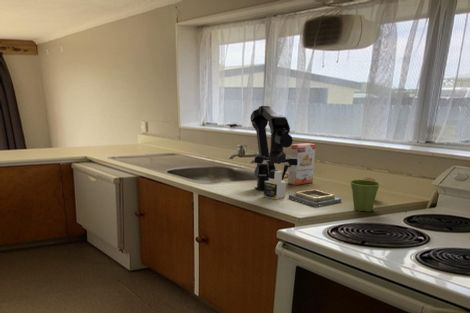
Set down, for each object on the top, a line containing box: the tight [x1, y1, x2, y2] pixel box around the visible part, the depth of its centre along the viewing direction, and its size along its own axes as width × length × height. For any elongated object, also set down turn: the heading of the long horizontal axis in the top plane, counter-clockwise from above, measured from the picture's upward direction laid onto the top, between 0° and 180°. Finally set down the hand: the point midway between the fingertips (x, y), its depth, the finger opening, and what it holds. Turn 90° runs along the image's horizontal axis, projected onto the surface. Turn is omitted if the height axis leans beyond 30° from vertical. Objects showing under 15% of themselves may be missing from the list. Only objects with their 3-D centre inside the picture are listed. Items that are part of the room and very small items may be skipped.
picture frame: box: [288, 188, 342, 207], centre depth 171 cm, size 16×16×3 cm
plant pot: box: [349, 179, 381, 213], centre depth 158 cm, size 12×12×11 cm
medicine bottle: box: [263, 169, 287, 200], centre depth 174 cm, size 7×7×12 cm
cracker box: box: [287, 142, 316, 186], centre depth 204 cm, size 14×6×21 cm, turn 129°
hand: (275, 179), depth 174 cm, fingers closed on medicine bottle, 6 cm apart
